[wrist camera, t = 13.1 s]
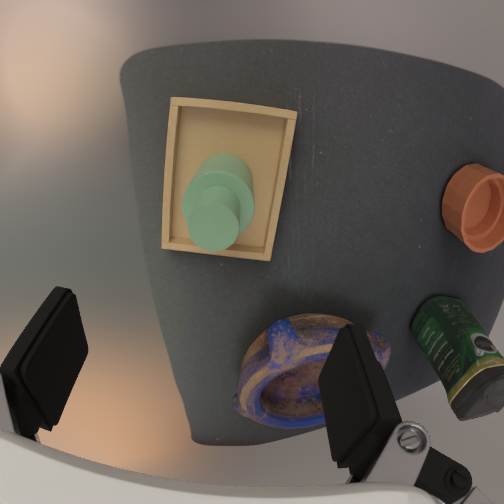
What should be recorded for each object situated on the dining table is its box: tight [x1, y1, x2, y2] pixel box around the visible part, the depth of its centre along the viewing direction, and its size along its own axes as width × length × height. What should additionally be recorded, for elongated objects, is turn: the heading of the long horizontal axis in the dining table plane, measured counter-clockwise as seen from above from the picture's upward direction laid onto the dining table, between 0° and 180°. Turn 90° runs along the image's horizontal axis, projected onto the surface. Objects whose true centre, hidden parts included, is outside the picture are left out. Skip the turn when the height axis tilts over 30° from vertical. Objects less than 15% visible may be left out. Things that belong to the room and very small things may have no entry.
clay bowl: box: [442, 163, 504, 253], centre depth 30 cm, size 10×10×5 cm
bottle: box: [182, 153, 255, 251], centre depth 26 cm, size 6×6×12 cm
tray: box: [162, 97, 298, 261], centre depth 31 cm, size 16×12×2 cm
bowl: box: [232, 313, 391, 429], centre depth 38 cm, size 18×18×10 cm
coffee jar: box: [411, 296, 504, 421], centre depth 33 cm, size 10×8×19 cm
